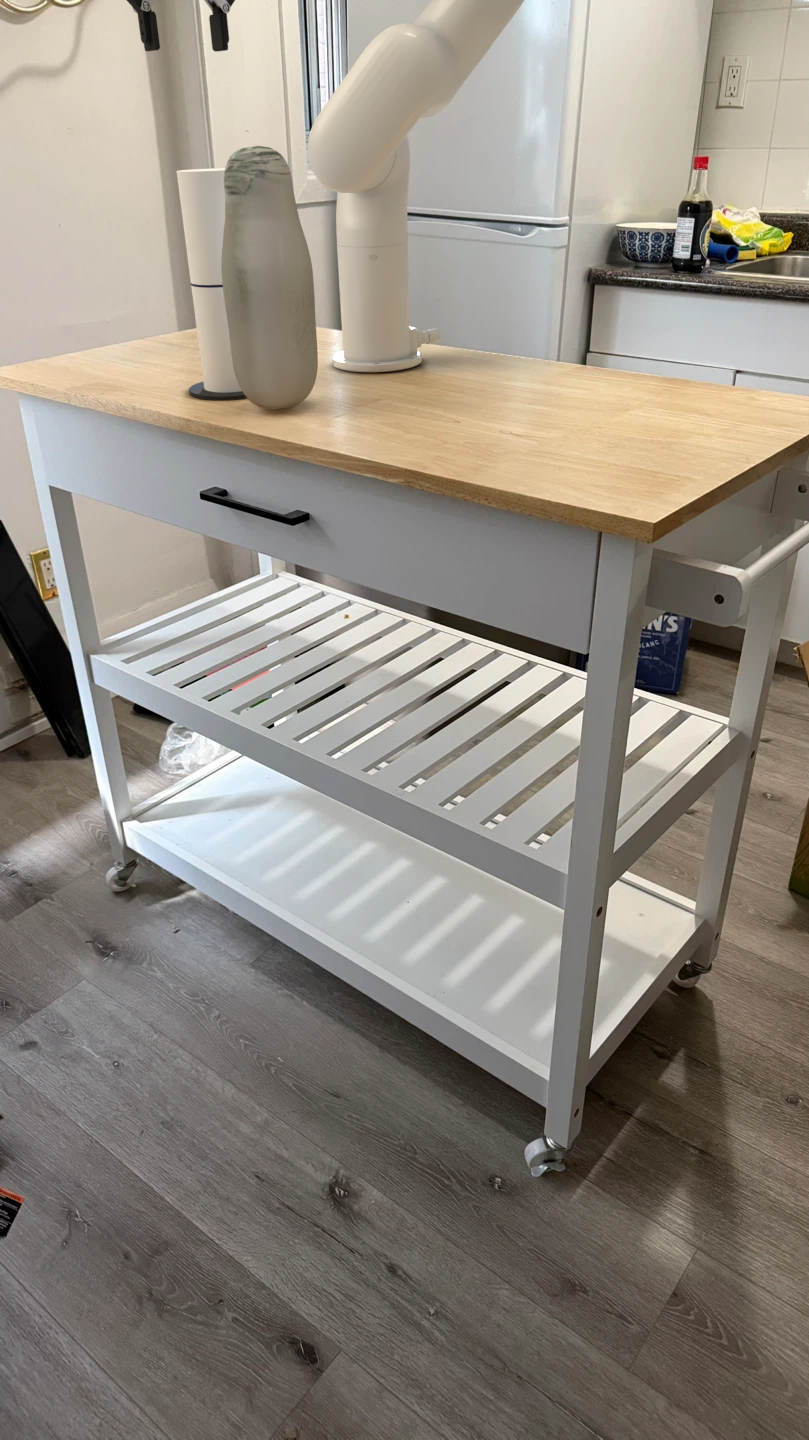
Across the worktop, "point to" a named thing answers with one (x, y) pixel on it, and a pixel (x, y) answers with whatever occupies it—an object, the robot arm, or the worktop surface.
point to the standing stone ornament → (267, 281)
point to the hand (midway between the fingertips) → (187, 50)
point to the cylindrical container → (208, 272)
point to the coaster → (213, 393)
